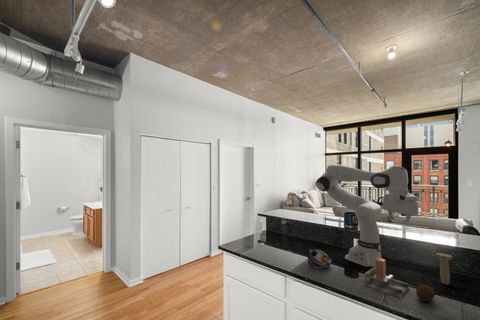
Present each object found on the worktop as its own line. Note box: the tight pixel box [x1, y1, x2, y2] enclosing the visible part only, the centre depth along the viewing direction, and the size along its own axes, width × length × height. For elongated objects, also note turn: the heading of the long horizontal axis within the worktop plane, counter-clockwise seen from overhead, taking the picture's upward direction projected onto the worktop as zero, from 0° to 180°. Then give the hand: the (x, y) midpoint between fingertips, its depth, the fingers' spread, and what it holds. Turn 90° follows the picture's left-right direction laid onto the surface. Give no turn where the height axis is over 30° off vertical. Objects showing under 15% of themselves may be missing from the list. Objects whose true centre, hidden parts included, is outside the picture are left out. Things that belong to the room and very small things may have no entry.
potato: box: [415, 284, 436, 302], centre depth 106 cm, size 7×12×7 cm, turn 137°
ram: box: [371, 258, 394, 286], centre depth 119 cm, size 8×7×12 cm
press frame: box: [364, 266, 410, 299], centre depth 118 cm, size 16×13×6 cm
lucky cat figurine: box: [307, 248, 333, 270], centre depth 142 cm, size 15×12×14 cm
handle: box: [435, 252, 453, 285], centre depth 121 cm, size 5×6×15 cm
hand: (399, 221), depth 124 cm, fingers open, 8 cm apart
